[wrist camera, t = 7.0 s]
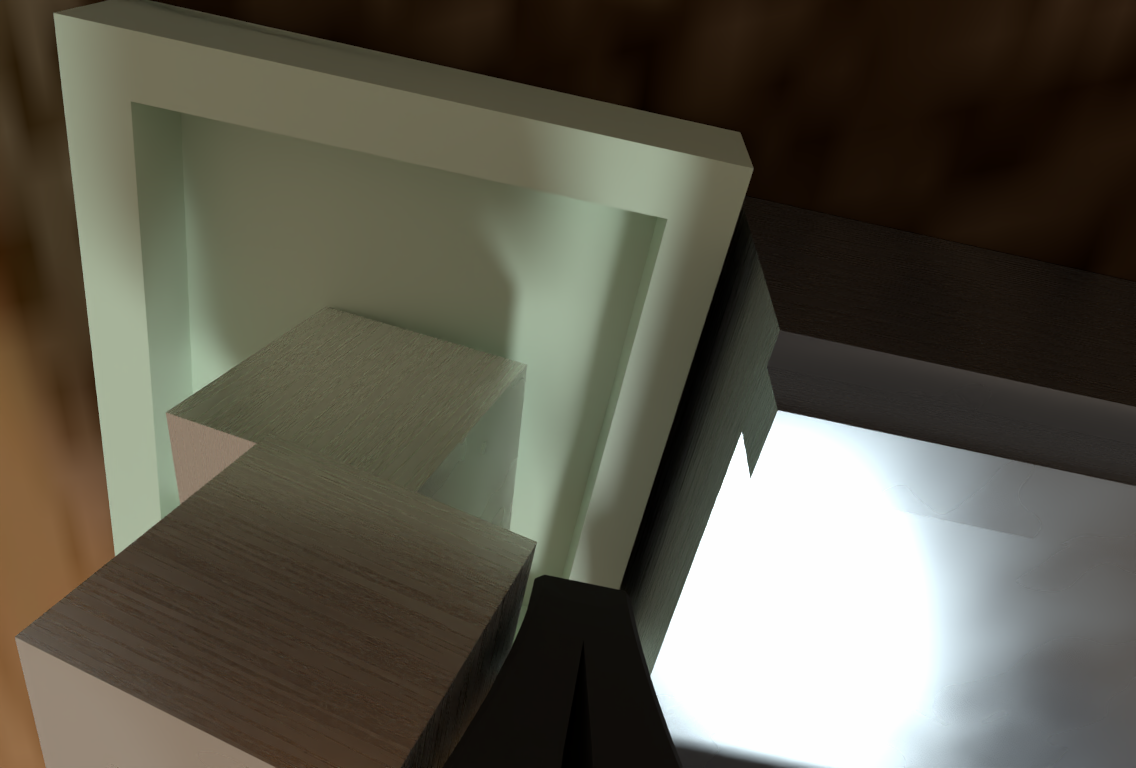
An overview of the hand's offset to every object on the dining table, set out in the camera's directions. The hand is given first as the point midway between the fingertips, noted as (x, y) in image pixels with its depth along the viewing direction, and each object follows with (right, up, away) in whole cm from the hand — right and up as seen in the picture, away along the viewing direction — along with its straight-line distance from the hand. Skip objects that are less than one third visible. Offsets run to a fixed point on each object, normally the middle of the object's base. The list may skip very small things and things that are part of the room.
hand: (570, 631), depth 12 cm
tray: (-3, +4, +5) cm, 7 cm away
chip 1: (-2, +1, +2) cm, 3 cm away
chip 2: (-3, +1, 0) cm, 3 cm away
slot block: (+6, +2, +5) cm, 8 cm away
